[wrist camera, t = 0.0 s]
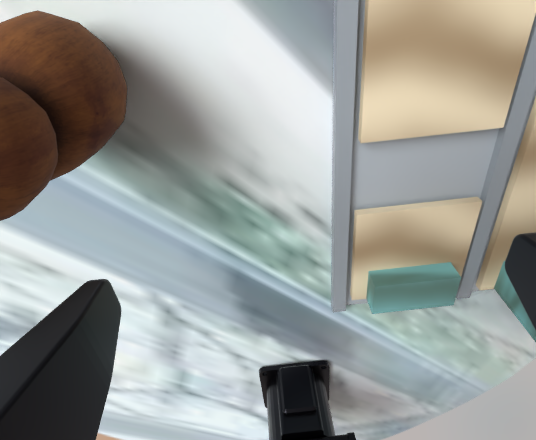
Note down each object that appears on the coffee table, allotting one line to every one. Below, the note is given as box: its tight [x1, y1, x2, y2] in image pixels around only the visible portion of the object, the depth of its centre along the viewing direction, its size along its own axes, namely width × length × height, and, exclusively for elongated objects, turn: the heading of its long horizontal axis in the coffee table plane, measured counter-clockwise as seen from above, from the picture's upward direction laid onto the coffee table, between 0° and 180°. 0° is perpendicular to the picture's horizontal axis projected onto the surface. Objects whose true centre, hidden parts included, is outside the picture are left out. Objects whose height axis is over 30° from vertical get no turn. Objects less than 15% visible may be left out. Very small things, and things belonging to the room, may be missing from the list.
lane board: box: [331, 0, 536, 312], centre depth 23 cm, size 25×21×2 cm
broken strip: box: [350, 0, 536, 314], centre depth 22 cm, size 22×8×2 cm, turn 5°
